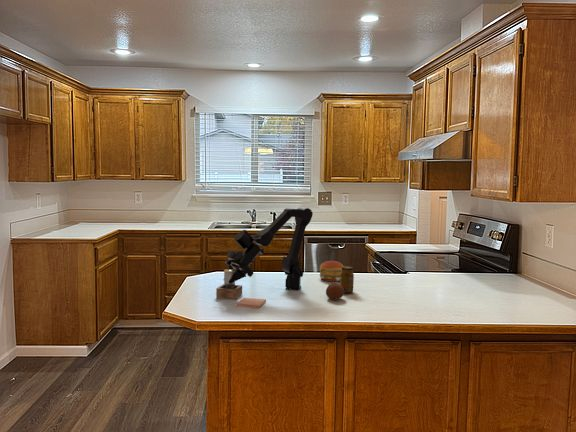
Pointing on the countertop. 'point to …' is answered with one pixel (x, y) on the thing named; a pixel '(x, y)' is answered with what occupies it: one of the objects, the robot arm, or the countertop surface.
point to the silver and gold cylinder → (227, 276)
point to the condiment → (347, 280)
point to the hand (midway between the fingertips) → (226, 281)
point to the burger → (331, 271)
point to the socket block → (229, 292)
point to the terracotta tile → (251, 302)
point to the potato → (334, 291)
